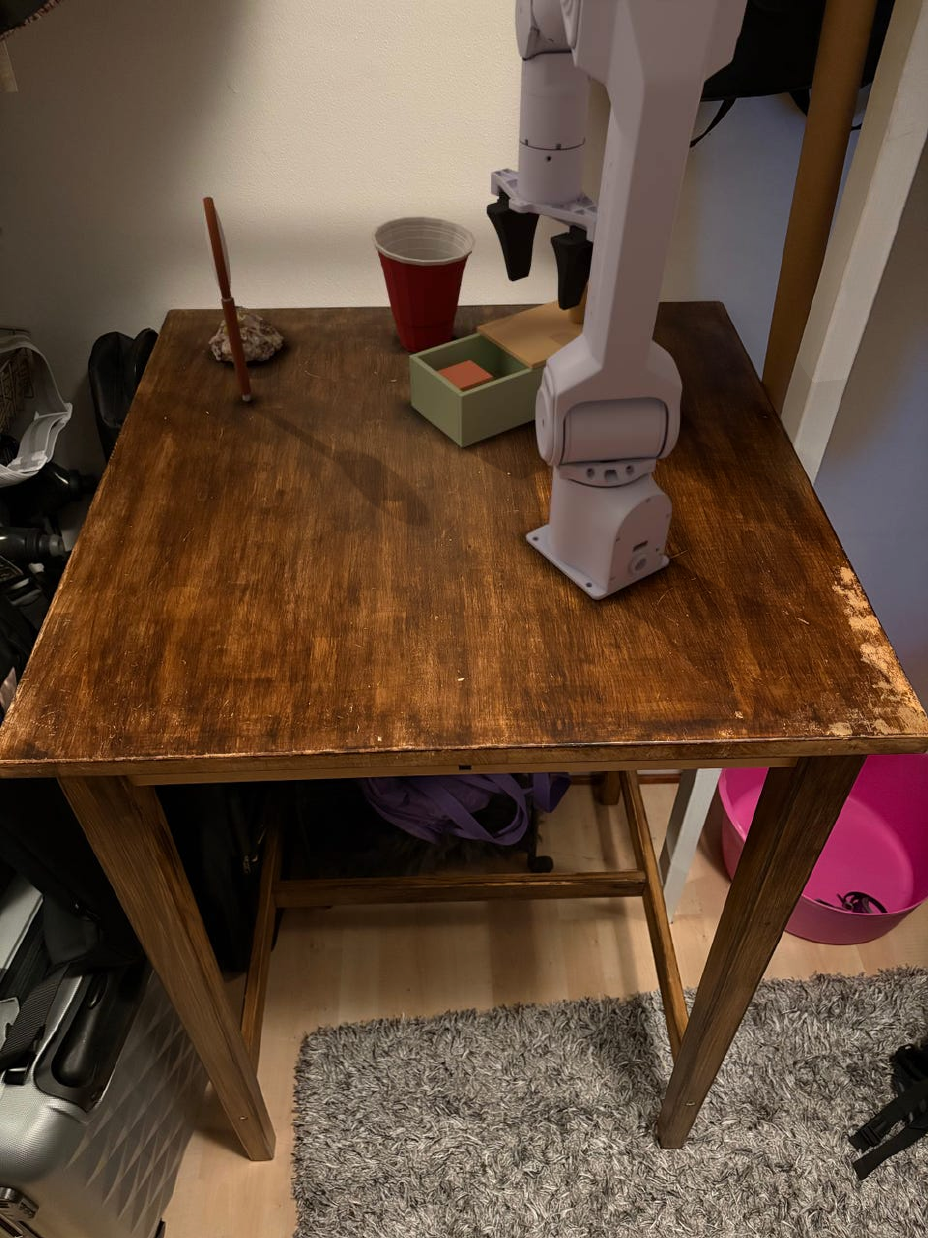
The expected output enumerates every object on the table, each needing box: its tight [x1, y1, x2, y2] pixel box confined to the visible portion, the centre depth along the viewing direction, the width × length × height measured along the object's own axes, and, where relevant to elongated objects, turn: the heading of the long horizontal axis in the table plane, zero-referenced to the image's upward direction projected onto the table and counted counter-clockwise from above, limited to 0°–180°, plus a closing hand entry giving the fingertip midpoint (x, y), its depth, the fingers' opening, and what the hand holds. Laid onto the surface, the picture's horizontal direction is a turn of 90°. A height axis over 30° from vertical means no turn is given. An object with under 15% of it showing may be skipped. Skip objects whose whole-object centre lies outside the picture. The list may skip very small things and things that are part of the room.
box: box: [408, 332, 546, 449], centre depth 90 cm, size 9×11×6 cm
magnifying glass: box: [202, 196, 252, 402], centre depth 86 cm, size 9×2×20 cm, turn 14°
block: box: [437, 360, 493, 392], centre depth 89 cm, size 4×4×4 cm
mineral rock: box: [207, 305, 285, 363], centre depth 101 cm, size 11×4×8 cm
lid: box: [476, 277, 590, 369], centre depth 89 cm, size 9×11×5 cm
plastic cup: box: [370, 216, 477, 354], centre depth 98 cm, size 11×11×12 cm
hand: (543, 291), depth 87 cm, fingers open, 7 cm apart
